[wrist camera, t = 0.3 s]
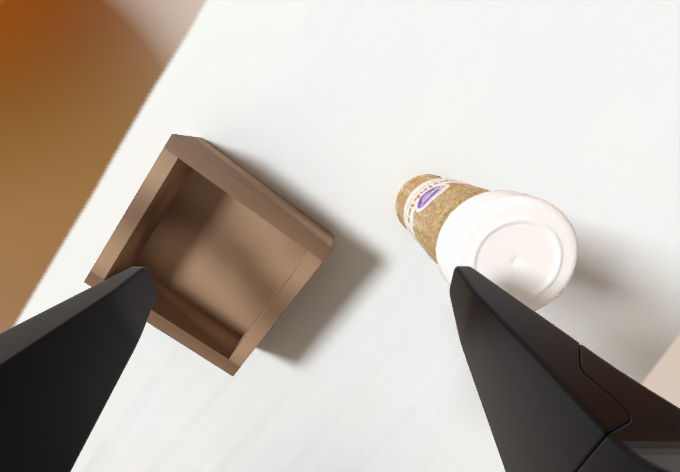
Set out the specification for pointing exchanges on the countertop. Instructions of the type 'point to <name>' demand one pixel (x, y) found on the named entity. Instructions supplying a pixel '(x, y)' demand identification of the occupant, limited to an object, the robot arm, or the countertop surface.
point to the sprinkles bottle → (491, 235)
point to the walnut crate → (213, 251)
